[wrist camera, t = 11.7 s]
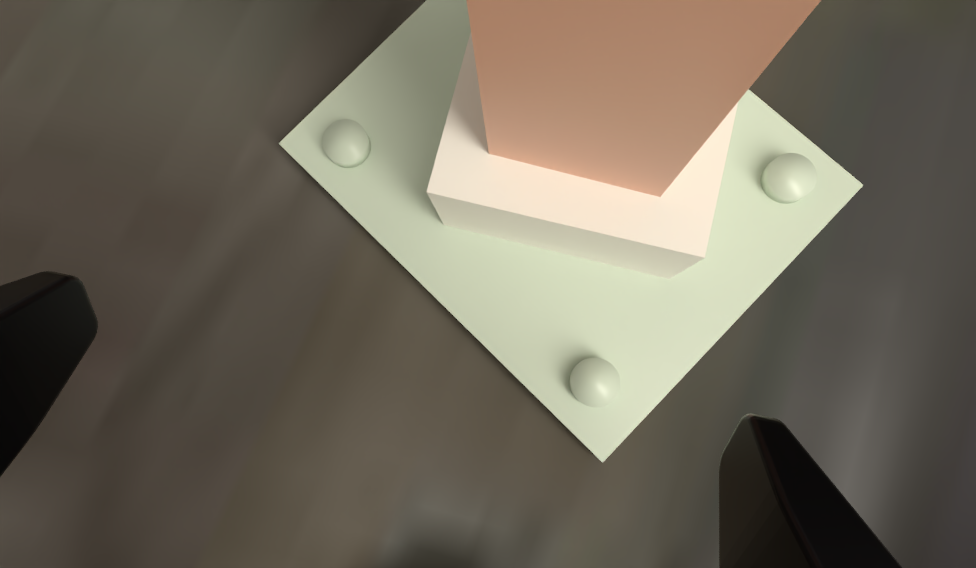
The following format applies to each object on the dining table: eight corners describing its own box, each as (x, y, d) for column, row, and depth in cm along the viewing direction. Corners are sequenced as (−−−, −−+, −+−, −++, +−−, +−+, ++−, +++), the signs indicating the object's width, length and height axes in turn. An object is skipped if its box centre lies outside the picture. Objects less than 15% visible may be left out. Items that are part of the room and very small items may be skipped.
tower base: (847, 193, 22) (944, 141, 17) (598, 458, 21) (623, 485, 16) (526, -78, 24) (527, -195, 19) (289, 153, 23) (225, 94, 18)
